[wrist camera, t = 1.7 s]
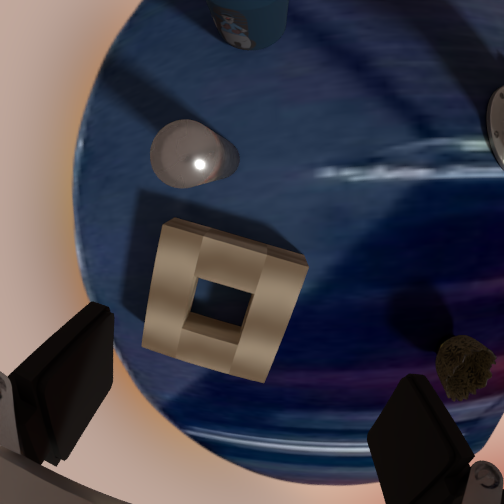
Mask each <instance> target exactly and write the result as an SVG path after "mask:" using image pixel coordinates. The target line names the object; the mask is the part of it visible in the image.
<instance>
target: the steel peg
mask: <svg viewBox="0 0 504 504" xmlns="http://www.w3.org/2000/svg"><path fill="white" fill-rule="evenodd" d="M150 161H151V165H152V168H153V170H154V172H155V174H156V175H157V177H158V178H159V179H160V180H161V181H162V182H164V183H165V184H167V185H169V186H172V187H175V188H189V187H193V186H197V185H201V184H204V183H208V182H212V181H216V180H220V179H224V178H227V177H229V176H231V175H232V174H233V173H234V172H235V171H236V170H237V168H238V166H239V162H240V156H239V152H238V150H237V148H236V147H235V146H234V145H233V144H232V143H231V142H229V141H227V140H226V139H224V138H223V137H221V136H220V135H218V134H217V133H215V132H214V131H212V130H210V129H209V128H207V127H206V126H204V125H202V124H201V123H199V122H197V121H193V120H177V121H174V122H171V123H169V124H168V125H166V126H165V127H163V128H162V129H161V130H160V131H159V132H158V134H157V135H156V136H155V138H154V140H153V142H152V145H151V150H150Z"/></svg>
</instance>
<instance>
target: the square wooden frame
mask: <svg viewBox="0 0 504 504" xmlns="http://www.w3.org/2000/svg"><path fill="white" fill-rule="evenodd" d="M308 268H309V266H308V264H307V261H306V259H305V256H304V255H302V254H298V253H295V252H292V251H288V250H285V249H282V248H278V247H275V246H271V245H268V244H265V243H261V242H258V241H254V240H251V239H248V238H244V237H241V236H237V235H234V234H231V233H227V232H224V231H220V230H217V229H213V228H210V227H207V226H203V225H200V224H196V223H193V222H189V221H186V220H182V219H179V218H173V219H171V220H169V221H168V222H166V223H164V224H163V226H162V230H161V235H160V240H159V245H158V250H157V255H156V260H155V265H154V270H153V276H152V282H151V287H150V293H149V299H148V305H147V312H146V318H145V325H144V332H143V339H142V347H144V348H147V349H150V350H153V351H156V352H159V353H161V354H164V355H167V356H170V357H173V358H177V359H180V360H183V361H186V362H189V363H192V364H196V365H199V366H202V367H206V368H209V369H212V370H216V371H220V372H223V373H227V374H230V375H234V376H238V377H242V378H246V379H250V380H254V381H258V382H262V383H264V382H265V379H266V377H267V375H268V372H269V370H270V367H271V365H272V362H273V360H274V357H275V355H276V352H277V350H278V347H279V345H280V342H281V340H282V337H283V335H284V332H285V330H286V327H287V325H288V322H289V319H290V317H291V314H292V311H293V309H294V306H295V303H296V301H297V298H298V295H299V293H300V290H301V287H302V285H303V282H304V279H305V276H306V274H307V271H308ZM198 278H202V279H205V280H209V281H212V282H215V283H219V284H222V285H225V286H229V287H232V288H236V289H239V290H242V291H246V292H249V293H252V295H251V298H250V301H249V304H248V307H247V310H246V313H245V317H244V320H243V323H242V326H241V327H240V326H237V325H233V324H230V323H226V322H223V321H219V320H216V319H213V318H209V317H206V316H203V315H199V314H196V313H193V312H190V311H191V307H192V303H193V298H194V294H195V290H196V286H197V282H198Z"/></svg>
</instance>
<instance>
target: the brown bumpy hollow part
mask: <svg viewBox="0 0 504 504" xmlns="http://www.w3.org/2000/svg"><path fill="white" fill-rule="evenodd" d="M436 354H437V357H436V370H437V374H438V376H439V379H440V381H441V383H442V385H443V387H444V389H445V392H446V394H447V397H448V398H450V397H451V399H452V400H453V401H455V398H456V399H457V400H459V401H462V400H463V399H468V395H469V392H470V393H471V394H475V395H476V389H480V388H483V387H485V386H486V384H487V380H488V379H489V378H491V377H492V373H491V372H490V368H491V367H492V366H491V365H492V364H496V362H495V361H494V360H496V359H497V358H496V356H495V355H494V354H493V352H492V351H491V350H490V349H488V348H487V347H485V346H484V345H482V344H481V343H480V342H478V341H477V340H475V339H473V338H471V337H469V336H466V335H458V336H455V335H447V336H445V337H443V338H442V339H441V340H440V341H439V343H438V344H437V347H436Z"/></svg>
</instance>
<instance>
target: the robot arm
mask: <svg viewBox="0 0 504 504" xmlns="http://www.w3.org/2000/svg"><path fill="white" fill-rule="evenodd" d="M487 131H488V136H489V141H490V144H491V147H492V150H493V153H494V155H495V157H496V159H497V161H498V163H499V164H500V166H501V167H502V169H503V170H504V86H502V87H500V88H498V89H497V90H496V91H495V92H494V93H493V94H492V96H491V98H490V100H489V103H488V108H487ZM113 339H114V314H113V313H111V312H110V308H109V307H107V306H105V305H102V304H99V303H96V302H90V303H89V304H88V305H87V306H85V307H84V308H83V309H82V310H81V311H80V312H78V313H77V314H76V315H75V316H74V317H73V318H72V319H70V320H69V321H68V322H67V323H66V324H65V325H64V326H62V327H61V328H60V329H59V330H58V331H57V332H55V333H54V334H53V335H52V336H51V337H50V338H48V339H47V340H46V341H45V342H44V343H43V344H42V345H41V346H40V347H39V348H37V349H36V350H35V351H34V352H33V353H32V354H31V355H30V356H29V357H28V358H27V359H26V360H25V361H23V362H22V363H21V364H20V365H19V366H18V367H17V368H16V369H15V370H14V371H13V372H12V373H11V374H10V375H9V376H8V377H7V376H6V375H5V374H3V373H2V372H0V504H131V503H128V502H125V501H122V500H119V499H117V498H114V497H111V496H109V495H106V494H103V493H101V492H98V491H96V490H93V489H91V488H88V487H86V486H84V485H81V484H79V483H77V482H75V481H72V480H70V479H68V478H66V477H64V476H62V475H60V474H58V473H56V472H54V471H52V470H50V469H48V468H46V467H44V466H42V465H41V464H42V463H43V461H44V460H45V461H47V462H49V463H50V464H52V465H54V466H57V465H58V463H59V462H60V460H61V459H62V460H64V461H65V460H66V459H67V458H68V457H69V455H70V453H71V452H72V450H73V448H74V447H75V445H76V443H77V442H78V440H79V438H80V437H81V435H82V434H83V432H84V430H85V428H86V427H87V425H88V424H89V422H90V420H91V419H92V417H93V416H94V414H95V413H96V411H97V409H98V408H99V406H100V405H101V403H102V402H103V400H104V398H105V397H106V395H107V394H108V392H109V391H110V389H111V386H112V383H113ZM367 442H368V446H369V449H370V452H371V455H372V459H373V462H374V465H375V468H376V472H377V475H378V478H379V482H380V485H381V489H382V492H383V496H384V499H385V503H386V504H504V489H503V477H502V474H501V472H500V471H499V469H498V468H497V467H496V466H495V465H493V464H492V463H490V462H487V461H477V462H475V463H474V464H473V465H472V466H471V467H470V465H469V462H470V461H471V460H472V459H473V458H474V457H475V455H474V453H473V452H472V450H471V448H470V446H469V445H468V443H467V441H466V440H465V438H464V436H463V435H462V433H461V431H460V430H459V428H458V426H457V425H456V423H455V422H454V420H453V418H452V417H451V415H450V414H449V412H448V410H447V409H446V407H445V406H444V404H443V403H442V401H441V399H440V398H439V396H438V395H437V393H436V392H435V390H434V389H433V387H432V386H431V384H430V383H429V381H428V380H427V378H426V377H425V376H424V375H419V374H408V375H407V376H406V377H404V378H402V379H401V380H400V382H399V384H398V386H397V387H396V389H395V391H394V392H393V394H392V396H391V398H390V399H389V401H388V403H387V404H386V406H385V407H384V409H383V411H382V412H381V414H380V415H379V417H378V419H377V420H376V422H375V423H374V425H373V426H372V428H371V429H370V431H369V432H368V435H367Z"/></svg>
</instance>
